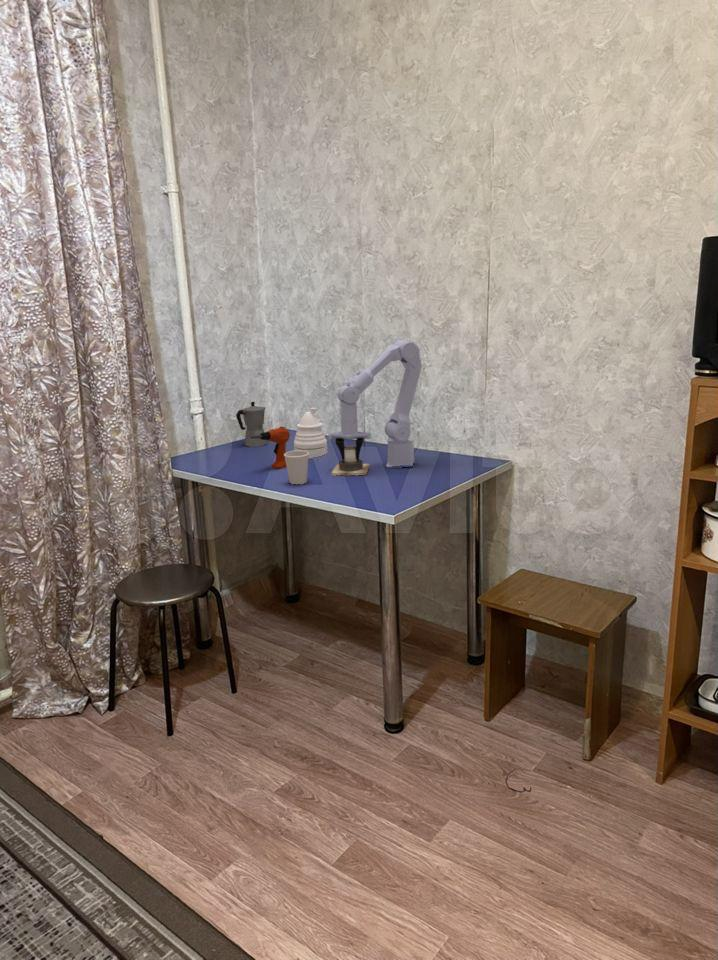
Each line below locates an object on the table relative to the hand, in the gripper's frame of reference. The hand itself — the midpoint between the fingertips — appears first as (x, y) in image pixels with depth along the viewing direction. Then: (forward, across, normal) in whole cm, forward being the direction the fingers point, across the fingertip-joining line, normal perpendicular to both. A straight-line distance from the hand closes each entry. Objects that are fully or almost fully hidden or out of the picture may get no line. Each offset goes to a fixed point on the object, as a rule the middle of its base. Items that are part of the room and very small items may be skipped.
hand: (350, 459), depth 244 cm
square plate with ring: (+4, 0, 0) cm, 4 cm away
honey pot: (+5, -19, +25) cm, 32 cm away
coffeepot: (+4, -46, +41) cm, 62 cm away
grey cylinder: (+2, 0, 0) cm, 2 cm away
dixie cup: (+4, -16, -14) cm, 22 cm away
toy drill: (+4, -29, +3) cm, 30 cm away
